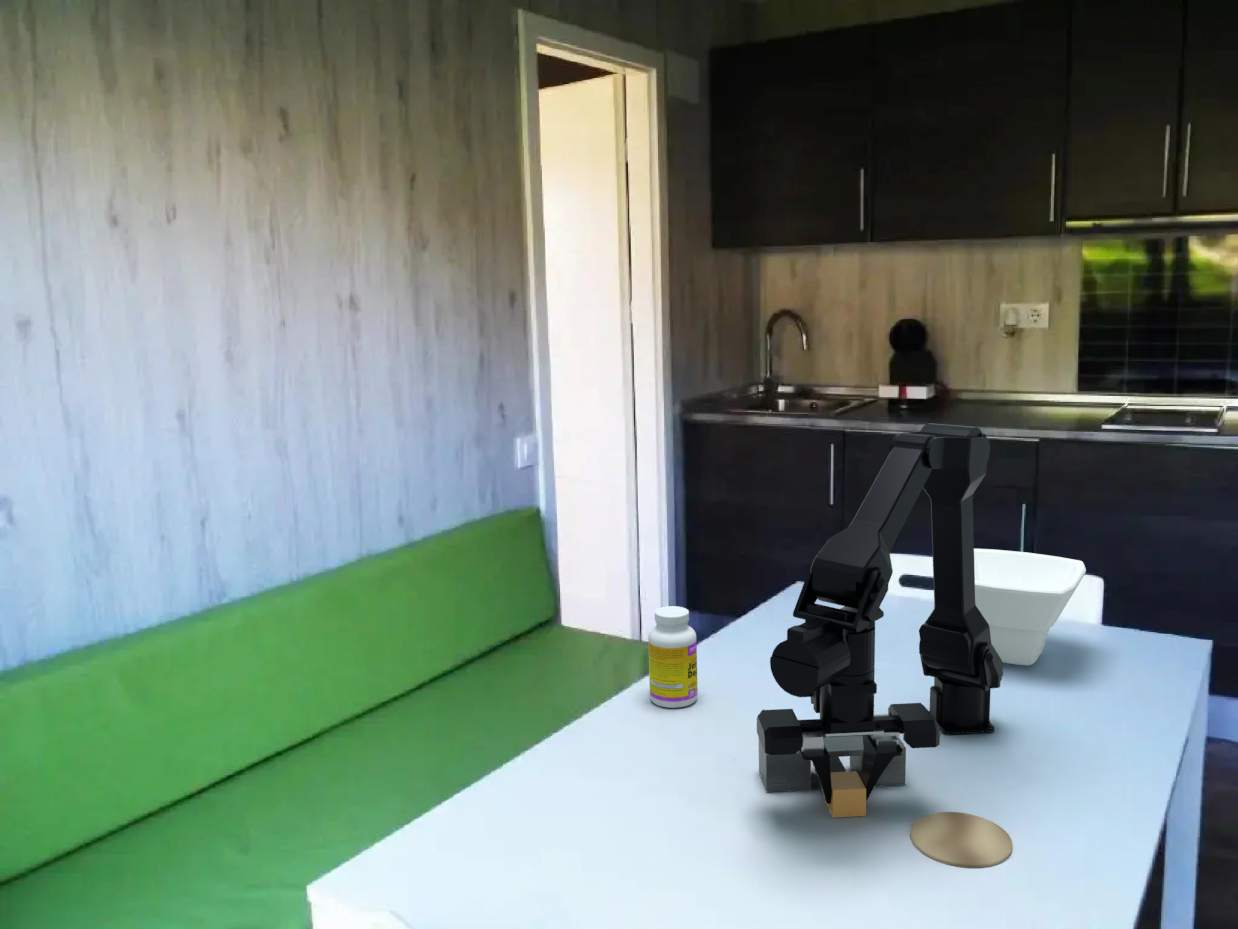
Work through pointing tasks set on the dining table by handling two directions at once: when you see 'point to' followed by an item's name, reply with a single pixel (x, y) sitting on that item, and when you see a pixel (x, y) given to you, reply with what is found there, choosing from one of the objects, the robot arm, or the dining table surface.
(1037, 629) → the bowl
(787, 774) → the grey notched block
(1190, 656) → the dining table surface
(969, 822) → the coaster
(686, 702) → the supplement bottle
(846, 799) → the tan block with bar
